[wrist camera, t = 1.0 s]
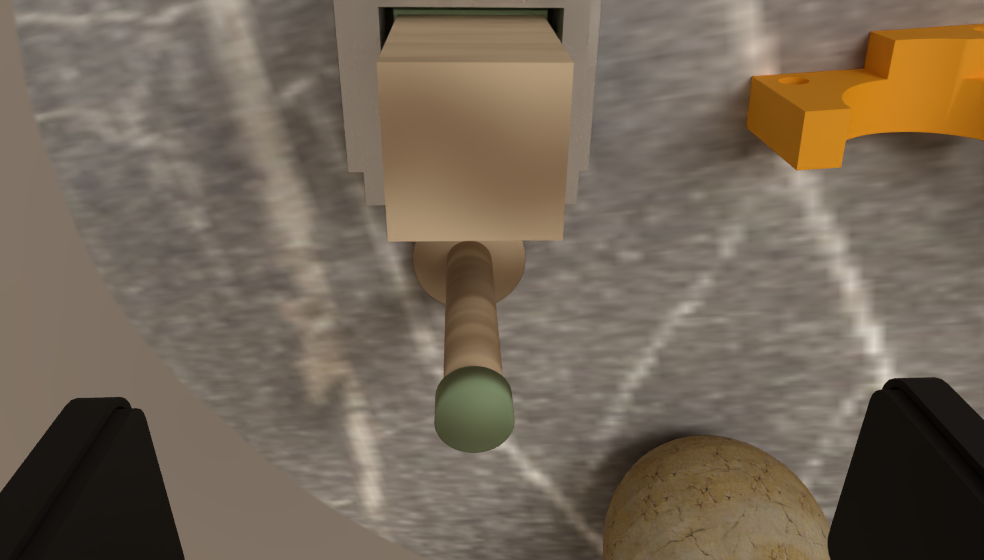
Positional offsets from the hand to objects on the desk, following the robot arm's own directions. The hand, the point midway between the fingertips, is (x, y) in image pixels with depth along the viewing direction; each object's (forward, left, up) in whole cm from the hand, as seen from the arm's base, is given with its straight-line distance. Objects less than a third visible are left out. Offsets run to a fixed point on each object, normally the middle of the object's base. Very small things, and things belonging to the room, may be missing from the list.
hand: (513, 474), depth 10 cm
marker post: (+11, 0, -29) cm, 31 cm away
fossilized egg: (+27, +14, -29) cm, 42 cm away
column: (0, 0, -27) cm, 27 cm away
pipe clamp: (+1, +20, -29) cm, 35 cm away
